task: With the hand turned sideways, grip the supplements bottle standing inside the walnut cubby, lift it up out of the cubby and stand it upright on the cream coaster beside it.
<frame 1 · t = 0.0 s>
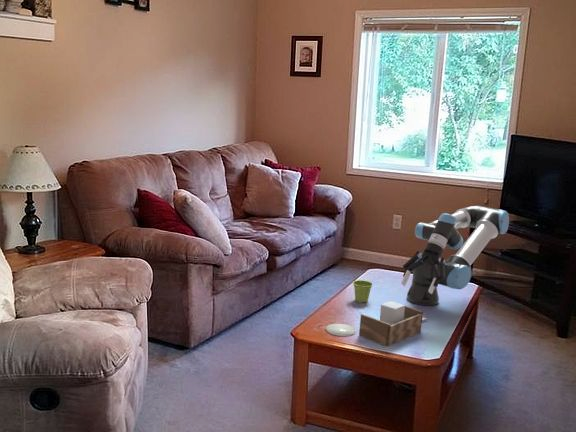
hand: (416, 288, 262), 15 cm above the table, tool tilted 35°, fingers open, 13 cm apart
cream coaster: (340, 330, 251), on the table
plant pot: (361, 301, 290), on the table
supplement box: (390, 334, 251), on the table
walnut cubby: (390, 333, 251), on the table
external hard drive: (409, 320, 270), on the table
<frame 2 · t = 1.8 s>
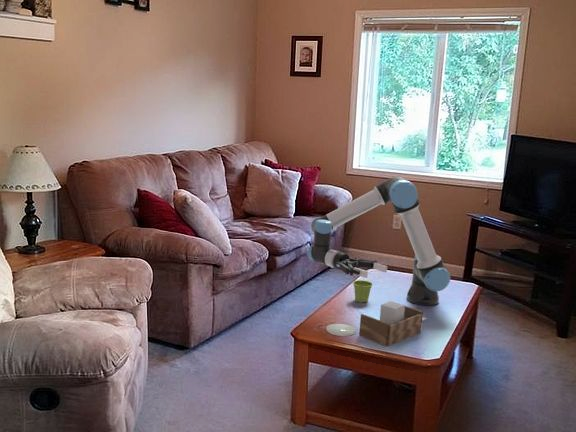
hand: (377, 271, 252), 24 cm above the table, tool horizontal, fingers open, 13 cm apart
nothing on the table moved.
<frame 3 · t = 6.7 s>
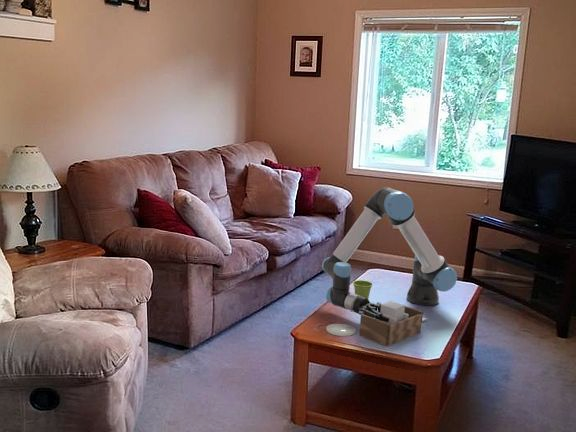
hand: (402, 319, 246), 8 cm above the table, tool horizontal, fingers closed on supplement box, 7 cm apart
supplement box: (390, 334, 251), on the table, touching gripper
everything else where it was.
when the fingers open (9 cm above the table, at t = 13.0 s): supplement box drops 1 cm, resting on cream coaster.
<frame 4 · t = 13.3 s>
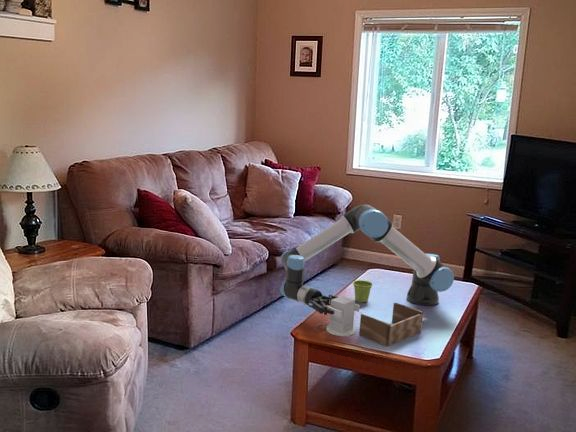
hand: (350, 311, 247), 9 cm above the table, tool horizontal, fingers open, 11 cm apart
supplement box: (340, 329, 251), resting on cream coaster
everything else where it was.
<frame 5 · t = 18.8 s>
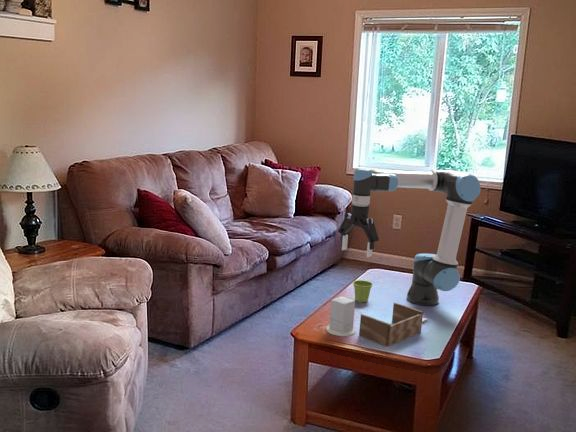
hand: (356, 253, 263), 29 cm above the table, tool pointing down, fingers open, 13 cm apart
nothing on the table moved.
at the end: supplement box inside the target area on the cream coaster (0.2 cm from its centre), point 0.4 cm above the cream coaster's base; supplement box tilted 0°; the gripper is holding nothing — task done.
